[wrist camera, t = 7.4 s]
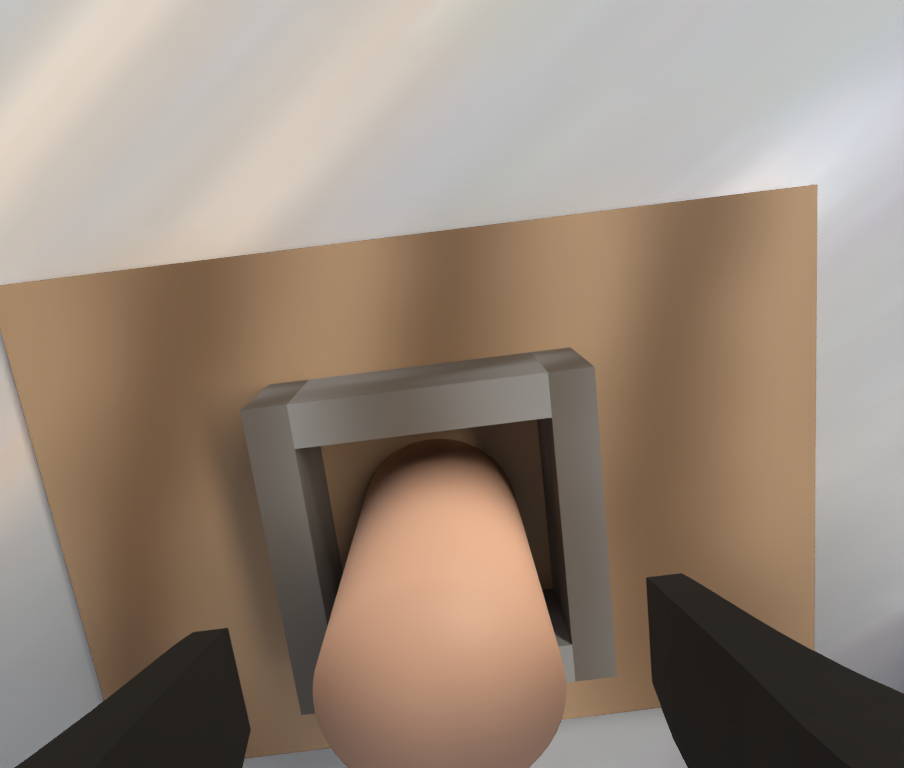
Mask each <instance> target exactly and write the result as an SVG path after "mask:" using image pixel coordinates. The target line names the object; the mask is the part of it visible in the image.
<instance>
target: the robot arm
mask: <svg viewBox="0 0 904 768" xmlns="http://www.w3.org/2000/svg"><path fill="white" fill-rule="evenodd" d="M646 588H647V605H648V622H649V639H650V656H651V673H652V683H653V686H654V689H655V691H656V694H657V697H658V700H659V702H660V705H661V708H662V711H663V713H664V716H665V718H666V721H667V724H668V726H669V729H670V731H671V734H672V737H673V739H674V741H675V743H676V745H677V747H678V749H679V751H680V753H681V755H682V757H683V759H684V761H685V763H686V765H687V767H688V768H904V694H903V693H901V692H898V691H896V690H894V689H892V688H889V687H887V686H885V685H883V684H880V683H878V682H876V681H874V680H871V679H869V678H867V677H865V676H863V675H861V674H858V673H856V672H854V671H852V670H850V669H848V668H846V667H844V666H842V665H840V664H838V663H836V662H834V661H832V660H830V659H829V658H827V657H825V656H823V655H821V654H819V653H817V652H815V651H813V650H811V649H809V648H808V647H806V646H804V645H802V644H800V643H798V642H797V641H795V640H793V639H791V638H789V637H788V636H786V635H784V634H782V633H781V632H779V631H777V630H775V629H774V628H772V627H770V626H768V625H767V624H765V623H763V622H762V621H760V620H758V619H757V618H755V617H753V616H752V615H750V614H748V613H747V612H745V611H743V610H742V609H740V608H739V607H737V606H735V605H734V604H732V603H730V602H729V601H727V600H726V599H724V598H722V597H721V596H719V595H718V594H716V593H714V592H713V591H711V590H710V589H708V588H706V587H705V586H703V585H701V584H700V583H698V582H696V581H695V580H693V579H691V578H690V577H688V576H686V575H684V574H682V573H678V574H670V575H662V576H654V577H646ZM250 731H251V728H250V724H249V719H248V715H247V710H246V706H245V701H244V697H243V692H242V688H241V683H240V679H239V674H238V670H237V665H236V661H235V657H234V652H233V648H232V643H231V639H230V634H229V630H228V628H222V629H214V630H206V631H197V632H192V633H191V634H189V635H188V636H186V637H185V638H183V639H182V640H181V641H179V642H178V643H176V644H175V645H174V646H172V647H171V648H170V649H169V650H167V651H166V652H165V653H163V654H162V655H161V656H160V657H158V658H157V659H156V660H155V661H153V662H152V663H151V664H150V665H148V666H147V667H146V668H145V669H143V670H142V671H141V672H140V673H138V674H137V675H136V676H135V677H133V678H132V679H131V680H130V681H128V682H127V683H126V684H125V685H123V686H122V687H121V688H120V689H118V690H117V691H116V692H115V693H113V694H112V695H111V696H110V697H108V698H107V699H106V700H105V701H103V702H102V703H101V704H99V705H98V706H97V707H96V708H94V709H93V710H92V711H91V712H89V713H88V714H87V715H85V716H84V717H83V718H81V719H80V720H79V721H77V722H76V723H75V724H73V725H72V726H71V727H69V728H68V729H67V730H65V731H64V732H62V733H61V734H60V735H58V736H57V737H56V738H54V739H53V740H52V741H50V742H49V743H48V744H46V745H45V746H44V747H42V748H41V749H40V750H38V751H37V752H36V753H34V754H33V755H32V756H30V757H29V758H27V759H26V760H25V761H23V762H22V763H20V764H19V765H18V766H16V767H15V768H242V766H243V762H244V758H245V753H246V749H247V744H248V740H249V735H250Z"/></svg>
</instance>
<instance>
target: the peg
mask: <svg viewBox="0 0 904 768" xmlns="http://www.w3.org/2000/svg"><path fill="white" fill-rule="evenodd" d="M566 691H567V688H566V675H565V670H564V665H563V661H562V657H561V654H560V651H559V647H558V644H557V640H556V637H555V633H554V630H553V626H552V623H551V619H550V616H549V613H548V609H547V606H546V602H545V599H544V595H543V592H542V588H541V585H540V582H539V578H538V575H537V571H536V568H535V564H534V561H533V557H532V554H531V550H530V547H529V544H528V540H527V537H526V533H525V530H524V526H523V523H522V519H521V516H520V513H519V509H518V506H517V502H516V499H515V495H514V492H513V489H512V486H511V483H510V481H509V479H508V477H507V475H506V474H505V472H504V471H503V469H502V468H501V467H500V465H499V464H498V463H497V462H496V461H495V460H494V459H493V458H492V457H490V456H489V455H488V454H487V453H485V452H484V451H482V450H480V449H479V448H477V447H475V446H473V445H470V444H468V443H465V442H461V441H458V440H451V439H428V440H423V441H419V442H416V443H413V444H410V445H408V446H406V447H404V448H402V449H400V450H398V451H397V452H395V453H394V454H392V455H391V456H390V457H389V458H388V459H387V460H385V461H384V462H383V463H382V465H381V466H380V467H379V468H378V469H377V471H376V473H375V474H374V476H373V477H372V479H371V482H370V484H369V486H368V489H367V493H366V496H365V499H364V503H363V506H362V510H361V513H360V517H359V520H358V523H357V527H356V530H355V534H354V537H353V541H352V544H351V547H350V551H349V554H348V558H347V561H346V565H345V568H344V571H343V575H342V578H341V582H340V585H339V589H338V592H337V596H336V599H335V602H334V606H333V609H332V613H331V616H330V620H329V623H328V626H327V630H326V633H325V637H324V640H323V644H322V647H321V650H320V654H319V657H318V661H317V664H316V668H315V672H314V679H313V703H314V709H315V715H316V718H317V721H318V724H319V727H320V729H321V731H322V733H323V735H324V737H325V739H326V741H327V743H328V744H329V746H330V747H331V748H332V750H333V751H334V753H335V754H336V755H337V756H338V757H339V758H340V760H341V761H342V762H343V763H344V764H345V765H346V766H348V767H349V768H529V767H530V766H531V765H532V764H533V763H534V762H535V761H536V760H537V759H538V758H539V757H540V756H541V755H542V753H543V752H544V751H545V749H546V748H547V747H548V746H549V744H550V742H551V741H552V739H553V737H554V735H555V734H556V732H557V729H558V727H559V724H560V722H561V719H562V716H563V712H564V708H565V702H566Z"/></svg>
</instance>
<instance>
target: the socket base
mask: <svg viewBox="0 0 904 768" xmlns="http://www.w3.org/2000/svg"><path fill="white" fill-rule="evenodd" d="M816 306H817V185H809V186H801V187H793V188H785V189H776V190H768V191H760V192H752V193H744V194H736V195H728V196H720V197H712V198H704V199H696V200H687V201H679V202H671V203H663V204H655V205H647V206H639V207H631V208H623V209H615V210H606V211H598V212H590V213H582V214H574V215H566V216H558V217H550V218H542V219H534V220H525V221H517V222H509V223H501V224H493V225H485V226H477V227H469V228H461V229H453V230H445V231H436V232H428V233H420V234H412V235H404V236H396V237H388V238H380V239H372V240H364V241H355V242H347V243H339V244H331V245H323V246H315V247H307V248H299V249H291V250H283V251H275V252H266V253H258V254H250V255H242V256H234V257H226V258H218V259H210V260H202V261H194V262H185V263H177V264H169V265H161V266H153V267H145V268H137V269H129V270H121V271H113V272H104V273H96V274H88V275H80V276H72V277H64V278H56V279H48V280H40V281H32V282H24V283H15V284H7V285H0V330H1V334H2V337H3V341H4V344H5V348H6V352H7V355H8V359H9V362H10V366H11V369H12V373H13V377H14V380H15V384H16V387H17V391H18V394H19V398H20V402H21V405H22V409H23V412H24V416H25V419H26V423H27V427H28V430H29V434H30V437H31V441H32V444H33V448H34V452H35V455H36V459H37V462H38V466H39V469H40V473H41V477H42V480H43V484H44V487H45V491H46V494H47V498H48V502H49V505H50V509H51V512H52V516H53V519H54V523H55V527H56V530H57V534H58V537H59V541H60V544H61V548H62V552H63V555H64V559H65V562H66V566H67V569H68V573H69V577H70V580H71V584H72V587H73V591H74V594H75V598H76V602H77V605H78V609H79V612H80V616H81V619H82V623H83V627H84V630H85V634H86V637H87V641H88V644H89V648H90V652H91V655H92V659H93V662H94V666H95V669H96V673H97V676H98V680H99V684H100V687H101V691H102V694H103V698H104V701H105V700H106V699H107V698H108V697H110V696H111V695H112V694H113V693H115V692H116V691H117V690H118V689H120V688H121V687H122V686H123V685H125V684H126V683H127V682H128V681H130V680H131V679H132V678H133V677H135V676H136V675H137V674H138V673H140V672H141V671H142V670H143V669H145V668H146V667H147V666H148V665H150V664H151V663H152V662H153V661H155V660H156V659H157V658H158V657H160V656H161V655H162V654H163V653H165V652H166V651H167V650H169V649H170V648H171V647H172V646H174V645H175V644H176V643H178V642H179V641H181V640H182V639H183V638H185V637H186V636H188V635H189V634H191V633H192V632H197V631H206V630H214V629H222V628H228V630H229V634H230V639H231V643H232V648H233V652H234V657H235V661H236V665H237V670H238V674H239V679H240V683H241V688H242V692H243V697H244V701H245V706H246V710H247V715H248V719H249V724H250V728H251V731H250V735H249V740H248V744H247V749H246V753H245V758H253V757H261V756H269V755H277V754H285V753H293V752H302V751H310V750H318V749H326V748H331V747H330V746H329V744H328V743H327V741H326V739H325V737H324V735H323V733H322V731H321V729H320V727H319V724H318V721H317V718H316V715H315V709H314V703H313V679H314V672H315V668H316V664H317V661H318V657H319V654H320V650H321V647H322V644H323V640H324V637H325V633H326V630H327V626H328V623H329V620H330V616H331V613H332V609H333V606H334V602H335V599H336V596H337V592H338V589H339V585H340V582H341V578H342V575H343V571H344V568H345V565H346V561H347V558H348V554H349V551H350V547H351V544H352V541H353V537H354V534H355V530H356V527H357V523H358V520H359V517H360V513H361V510H362V506H363V503H364V499H365V496H366V493H367V489H368V486H369V484H370V482H371V479H372V477H373V476H374V474H375V473H376V471H377V469H378V468H379V467H380V466H381V465H382V463H383V462H384V461H385V460H387V459H388V458H389V457H390V456H391V455H392V454H394V453H395V452H397V451H398V450H400V449H402V448H404V447H406V446H408V445H410V444H413V443H416V442H419V441H423V440H428V439H451V440H458V441H461V442H465V443H468V444H470V445H473V446H475V447H477V448H479V449H480V450H482V451H484V452H485V453H487V454H488V455H489V456H490V457H492V458H493V459H494V460H495V461H496V462H497V463H498V464H499V465H500V467H501V468H502V469H503V471H504V472H505V474H506V475H507V477H508V479H509V481H510V483H511V486H512V489H513V492H514V495H515V499H516V502H517V506H518V509H519V513H520V516H521V519H522V523H523V526H524V530H525V533H526V537H527V540H528V544H529V547H530V550H531V554H532V557H533V561H534V564H535V568H536V571H537V575H538V578H539V582H540V585H541V588H542V592H543V595H544V599H545V602H546V606H547V609H548V613H549V616H550V619H551V623H552V626H553V630H554V633H555V637H556V640H557V644H558V647H559V651H560V654H561V657H562V661H563V665H564V670H565V675H566V688H567V691H566V702H565V708H564V712H563V716H562V719H561V720H563V719H571V718H579V717H588V716H596V715H604V714H612V713H620V712H628V711H637V710H645V709H653V708H661V705H660V702H659V700H658V697H657V694H656V691H655V689H654V686H653V683H652V673H651V656H650V639H649V622H648V605H647V588H646V577H654V576H662V575H670V574H678V573H682V574H684V575H686V576H688V577H690V578H691V579H693V580H695V581H696V582H698V583H700V584H701V585H703V586H705V587H706V588H708V589H710V590H711V591H713V592H714V593H716V594H718V595H719V596H721V597H722V598H724V599H726V600H727V601H729V602H730V603H732V604H734V605H735V606H737V607H739V608H740V609H742V610H743V611H745V612H747V613H748V614H750V615H752V616H753V617H755V618H757V619H758V620H760V621H762V622H763V623H765V624H767V625H768V626H770V627H772V628H774V629H775V630H777V631H779V632H781V633H782V634H784V635H786V636H788V637H789V638H791V639H793V640H795V641H797V642H798V643H800V644H802V645H804V646H806V647H808V648H809V649H811V650H813V651H814V589H815V447H816Z"/></svg>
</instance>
